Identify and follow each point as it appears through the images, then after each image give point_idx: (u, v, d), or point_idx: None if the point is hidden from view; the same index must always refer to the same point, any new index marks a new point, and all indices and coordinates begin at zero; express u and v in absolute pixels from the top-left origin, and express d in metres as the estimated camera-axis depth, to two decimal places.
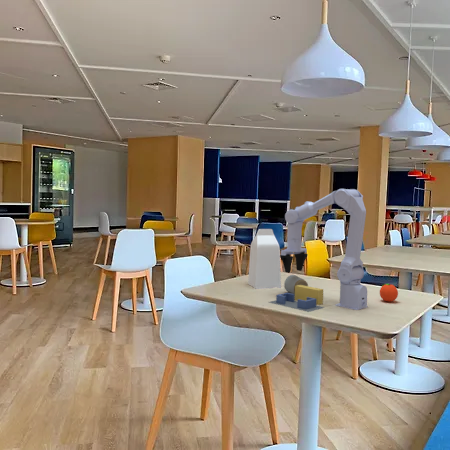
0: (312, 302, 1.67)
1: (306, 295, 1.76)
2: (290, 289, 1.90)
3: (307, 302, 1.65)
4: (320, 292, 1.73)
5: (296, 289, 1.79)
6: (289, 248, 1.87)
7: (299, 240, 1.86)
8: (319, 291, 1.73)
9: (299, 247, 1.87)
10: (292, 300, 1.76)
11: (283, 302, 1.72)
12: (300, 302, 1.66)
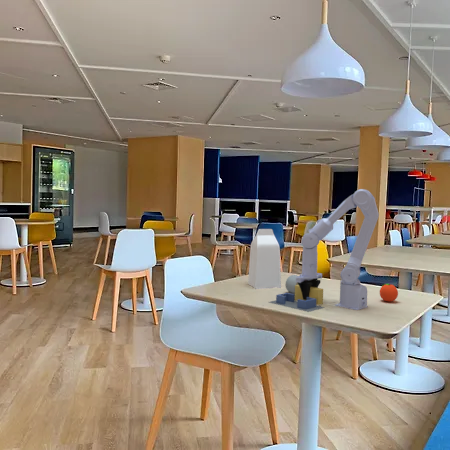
0: (312, 302, 1.67)
1: None
2: (291, 289, 1.90)
3: (307, 302, 1.65)
4: (320, 292, 1.73)
5: (296, 289, 1.79)
6: (304, 274, 1.75)
7: (315, 266, 1.74)
8: (319, 291, 1.72)
9: (315, 273, 1.75)
10: (292, 300, 1.76)
11: (283, 302, 1.72)
12: (300, 302, 1.66)
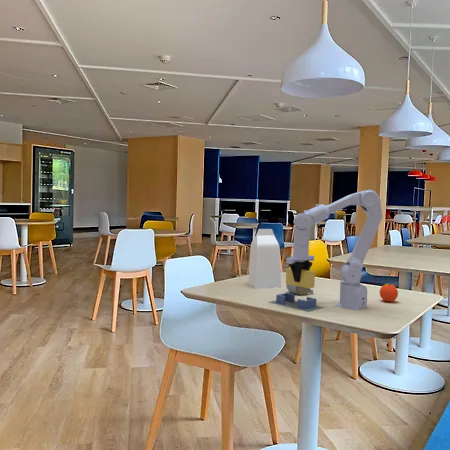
0: (312, 302, 1.67)
1: None
2: (292, 289, 1.90)
3: (307, 302, 1.65)
4: (311, 274, 1.69)
5: (288, 271, 1.75)
6: (295, 256, 1.71)
7: (306, 247, 1.70)
8: (310, 273, 1.68)
9: (306, 255, 1.70)
10: (292, 300, 1.76)
11: (283, 302, 1.72)
12: (300, 302, 1.66)
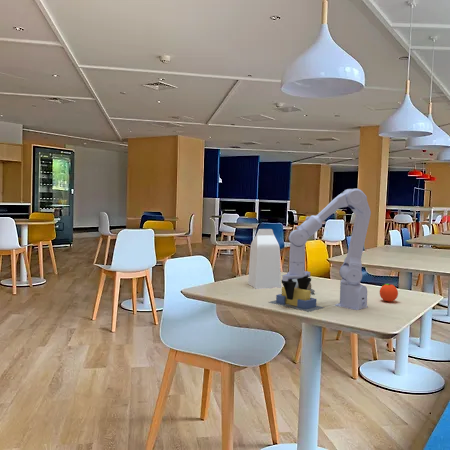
0: (312, 302, 1.67)
1: None
2: None
3: (307, 302, 1.65)
4: (307, 294, 1.68)
5: (283, 290, 1.74)
6: (291, 272, 1.69)
7: (302, 264, 1.69)
8: (306, 293, 1.67)
9: (302, 271, 1.69)
10: None
11: (283, 302, 1.72)
12: (300, 302, 1.66)
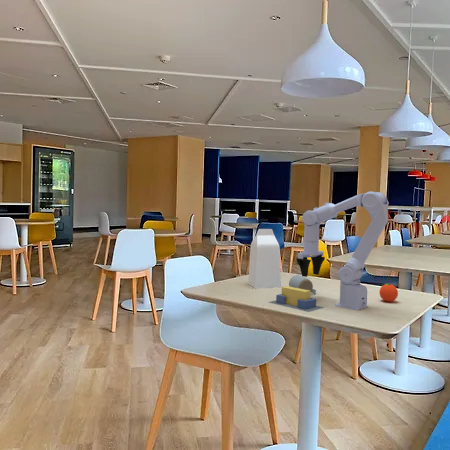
0: (312, 302, 1.67)
1: (292, 297, 1.71)
2: None
3: (307, 302, 1.65)
4: (307, 294, 1.68)
5: (283, 290, 1.74)
6: (306, 251, 1.78)
7: (316, 243, 1.78)
8: (306, 293, 1.67)
9: (316, 250, 1.78)
10: None
11: (283, 302, 1.72)
12: (300, 302, 1.66)
